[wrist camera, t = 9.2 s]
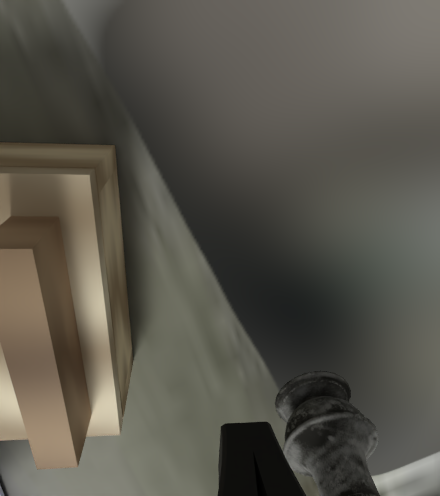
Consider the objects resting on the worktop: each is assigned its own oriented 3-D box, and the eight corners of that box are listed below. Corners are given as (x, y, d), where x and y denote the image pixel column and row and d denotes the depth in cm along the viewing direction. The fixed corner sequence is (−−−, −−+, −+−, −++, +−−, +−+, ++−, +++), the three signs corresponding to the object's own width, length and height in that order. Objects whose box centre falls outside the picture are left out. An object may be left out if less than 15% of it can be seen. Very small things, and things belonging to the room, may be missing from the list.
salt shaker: (336, 430, 27) (434, 669, 16) (261, 424, 26) (313, 674, 15) (367, 372, 25) (507, 608, 14) (285, 363, 24) (368, 610, 13)
